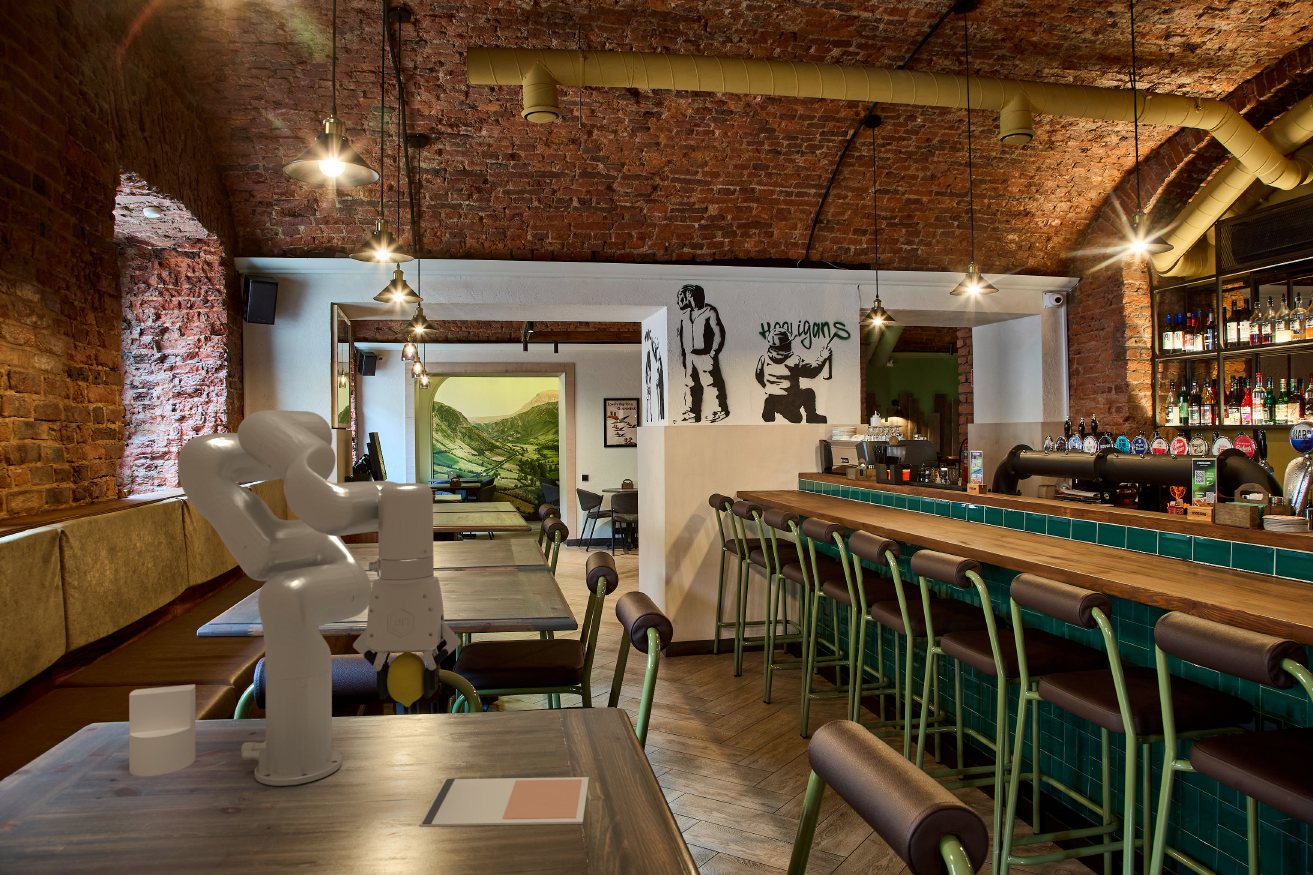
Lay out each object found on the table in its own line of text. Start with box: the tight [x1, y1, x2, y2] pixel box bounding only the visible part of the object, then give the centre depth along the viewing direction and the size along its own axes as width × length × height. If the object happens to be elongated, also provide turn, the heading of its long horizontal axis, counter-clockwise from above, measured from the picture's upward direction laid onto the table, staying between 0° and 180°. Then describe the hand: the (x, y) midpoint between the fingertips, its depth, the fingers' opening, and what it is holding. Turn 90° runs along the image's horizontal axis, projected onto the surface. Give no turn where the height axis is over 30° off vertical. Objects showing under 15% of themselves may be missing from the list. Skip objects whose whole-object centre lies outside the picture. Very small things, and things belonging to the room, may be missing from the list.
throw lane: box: [418, 776, 590, 827], centre depth 113 cm, size 22×14×1 cm, turn 92°
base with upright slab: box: [128, 684, 196, 777], centre depth 126 cm, size 9×9×12 cm
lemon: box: [387, 652, 426, 708], centre depth 112 cm, size 6×6×8 cm
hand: (407, 694), depth 112 cm, fingers closed on lemon, 5 cm apart
